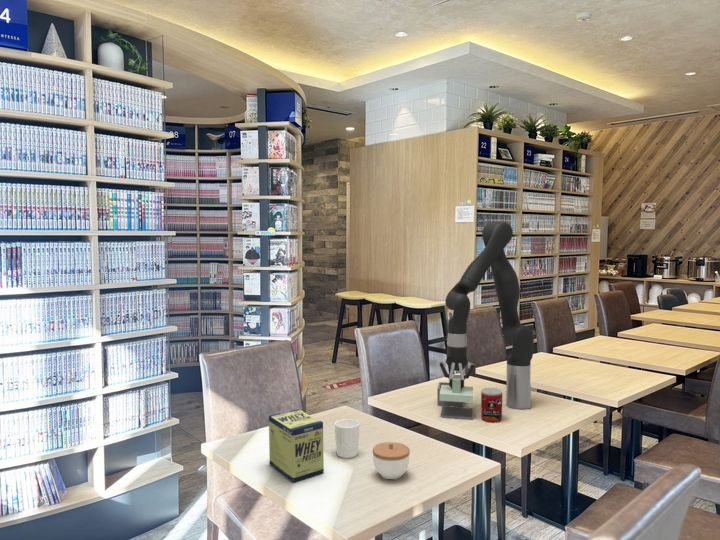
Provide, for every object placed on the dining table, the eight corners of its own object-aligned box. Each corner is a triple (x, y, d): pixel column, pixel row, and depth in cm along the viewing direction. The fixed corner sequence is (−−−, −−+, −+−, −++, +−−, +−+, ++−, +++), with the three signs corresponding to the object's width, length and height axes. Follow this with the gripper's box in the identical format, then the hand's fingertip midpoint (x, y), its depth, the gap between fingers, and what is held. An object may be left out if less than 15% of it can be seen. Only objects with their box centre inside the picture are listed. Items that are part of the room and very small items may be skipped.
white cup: (331, 451, 172) (331, 420, 172) (354, 447, 175) (354, 417, 174) (339, 460, 165) (339, 429, 164) (363, 456, 168) (363, 425, 167)
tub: (462, 399, 224) (463, 383, 224) (462, 407, 214) (462, 390, 214) (439, 398, 226) (439, 382, 226) (437, 405, 216) (437, 388, 216)
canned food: (480, 422, 197) (481, 393, 197) (481, 415, 205) (481, 386, 204) (502, 423, 196) (502, 394, 195) (501, 416, 203) (502, 388, 203)
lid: (472, 393, 211) (473, 374, 211) (472, 402, 199) (473, 382, 199) (441, 391, 214) (441, 372, 213) (439, 400, 202) (439, 380, 201)
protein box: (293, 483, 150) (292, 429, 149) (268, 464, 163) (267, 414, 162) (324, 473, 156) (324, 421, 155) (298, 456, 169) (297, 408, 168)
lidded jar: (365, 475, 155) (364, 443, 154) (390, 463, 162) (390, 433, 162) (392, 487, 147) (392, 454, 147) (417, 474, 155) (417, 443, 154)
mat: (472, 409, 212) (472, 408, 212) (472, 419, 200) (472, 418, 200) (442, 407, 214) (442, 406, 214) (440, 417, 202) (440, 416, 202)
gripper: (475, 343, 207) (475, 386, 208) (439, 341, 210) (438, 384, 211) (475, 347, 200) (475, 392, 201) (438, 345, 203) (437, 390, 204)
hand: (456, 388), depth 206 cm, fingers closed on lid, 3 cm apart
